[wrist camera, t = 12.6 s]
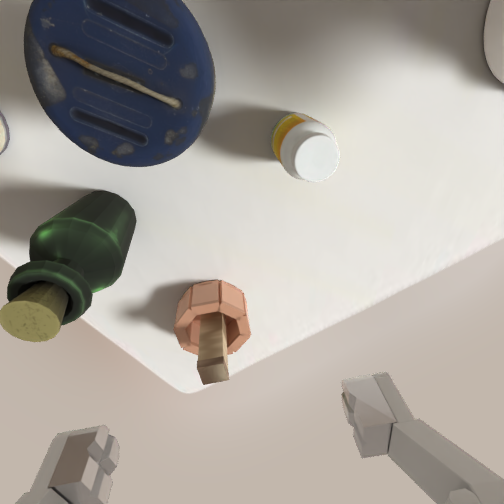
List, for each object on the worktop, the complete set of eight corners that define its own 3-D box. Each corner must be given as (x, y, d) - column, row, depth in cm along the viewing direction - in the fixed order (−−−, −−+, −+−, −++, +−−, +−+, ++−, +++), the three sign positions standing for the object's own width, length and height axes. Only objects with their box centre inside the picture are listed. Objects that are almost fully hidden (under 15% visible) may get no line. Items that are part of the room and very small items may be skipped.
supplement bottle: (319, 112, 33) (354, 126, 25) (313, 162, 36) (343, 189, 27) (270, 111, 32) (289, 125, 24) (268, 162, 35) (284, 190, 27)
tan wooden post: (221, 300, 44) (223, 363, 35) (226, 316, 46) (228, 380, 36) (200, 304, 44) (196, 368, 34) (205, 320, 46) (203, 384, 36)
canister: (183, 146, 33) (155, 211, 18) (97, 86, 30) (-30, 103, 14) (234, 65, 30) (254, 59, 14) (145, -14, 26) (46, -134, 11)
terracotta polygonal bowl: (240, 274, 43) (243, 297, 38) (251, 325, 48) (254, 349, 44) (170, 288, 43) (165, 311, 38) (189, 337, 48) (186, 362, 44)
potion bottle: (67, 178, 34) (-58, 268, 18) (143, 188, 35) (88, 279, 20) (75, 242, 38) (-22, 360, 22) (143, 249, 39) (97, 364, 24)
